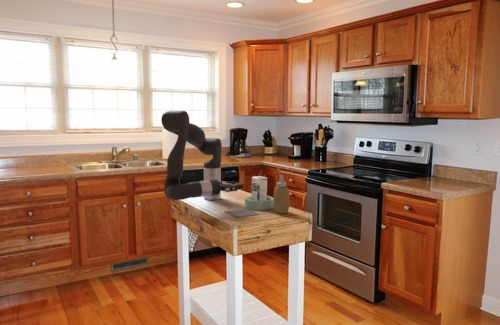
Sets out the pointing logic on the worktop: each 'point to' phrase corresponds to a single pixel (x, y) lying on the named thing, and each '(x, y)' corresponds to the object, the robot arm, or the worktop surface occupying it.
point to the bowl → (259, 203)
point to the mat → (241, 213)
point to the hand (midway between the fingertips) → (238, 184)
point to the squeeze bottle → (281, 197)
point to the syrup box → (259, 188)
